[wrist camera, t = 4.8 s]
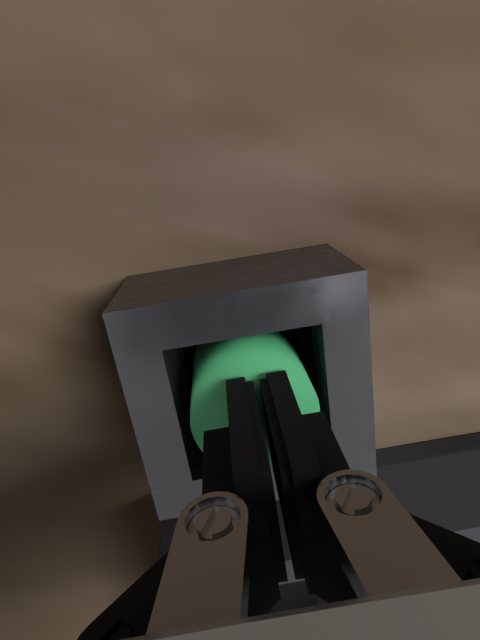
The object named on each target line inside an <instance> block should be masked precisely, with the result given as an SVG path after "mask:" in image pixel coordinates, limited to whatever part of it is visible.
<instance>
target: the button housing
mask: <svg viewBox="0 0 480 640" xmlns="http://www.w3.org/2000/svg"><path fill="white" fill-rule="evenodd" d="M102 316H103V320H104V323H105V327H106V331H107V334H108V338H109V341H110V345H111V349H112V352H113V356H114V360H115V363H116V367H117V370H118V374H119V378H120V381H121V385H122V388H123V392H124V396H125V399H126V403H127V406H128V410H129V414H130V417H131V421H132V425H133V428H134V432H135V435H136V439H137V443H138V446H139V450H140V453H141V457H142V461H143V464H144V468H145V471H146V475H147V479H148V482H149V486H150V490H151V493H152V497H153V500H154V504H155V508H156V511H157V515H158V518H159V521H161V520H166V519H172V518H178V517H179V515H180V513H181V511H182V510H183V509H184V507H185V506H186V505H187V504H188V503H189V502H191V501H192V500H194V499H195V498H196V497H199V496H201V495H202V474H203V452H202V450H201V449H200V448H199V446H198V445H197V443H196V441H195V439H194V437H193V434H192V431H191V426H190V408H191V393H192V391H191V387H190V382H189V377H188V373H187V368H186V363H185V359H184V354H183V349H182V347H187V346H193V345H199V344H205V343H211V342H217V341H223V340H229V339H235V338H241V337H247V336H253V335H259V334H265V333H271V332H277V331H283V330H290V329H296V328H299V331H300V340H301V350H302V359H303V366H304V369H305V371H306V373H307V375H308V377H309V379H310V381H311V383H312V386H313V388H314V390H315V392H316V394H317V397H318V400H319V406H320V411H323V412H324V414H325V416H326V418H327V420H328V422H329V424H330V427H331V429H332V431H333V433H334V435H335V437H336V440H337V442H338V444H339V446H340V448H341V450H342V453H343V455H344V457H345V459H346V461H347V463H348V466H349V468H350V470H361V471H365V472H368V473H371V474H373V475H375V476H377V467H376V447H375V426H374V406H373V386H372V365H371V345H370V324H369V304H368V283H367V270H366V269H364V268H363V267H361V266H360V265H358V264H357V263H355V262H354V261H352V260H351V259H349V258H348V257H346V256H345V255H343V254H342V253H340V252H339V251H337V250H336V249H334V248H333V247H331V246H330V245H328V244H323V245H317V246H310V247H304V248H298V249H292V250H286V251H280V252H274V253H268V254H261V255H255V256H249V257H243V258H237V259H231V260H225V261H219V262H212V263H206V264H200V265H194V266H188V267H182V268H176V269H170V270H163V271H157V272H151V273H145V274H139V275H133V276H128V277H127V279H126V280H125V282H124V283H123V284H122V286H121V287H120V289H119V290H118V292H117V293H116V294H115V296H114V297H113V299H112V300H111V301H110V303H109V304H108V306H107V307H106V308H105V310H104V311H103V313H102ZM271 474H272V480H273V486H274V493H275V499H276V501H277V500H279V497H278V492H277V487H276V483H275V478H274V473H273V469H272V470H271Z"/></svg>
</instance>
